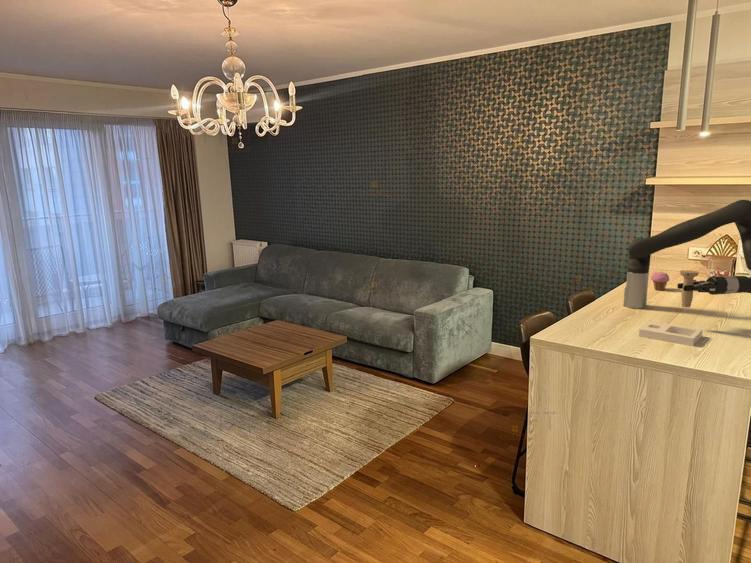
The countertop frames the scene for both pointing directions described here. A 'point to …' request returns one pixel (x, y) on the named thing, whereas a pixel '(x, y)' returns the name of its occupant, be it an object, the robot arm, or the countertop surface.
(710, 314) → the countertop surface
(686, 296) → the handle
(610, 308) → the countertop surface
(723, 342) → the countertop surface
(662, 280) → the cupcake
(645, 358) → the countertop surface
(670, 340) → the plate
